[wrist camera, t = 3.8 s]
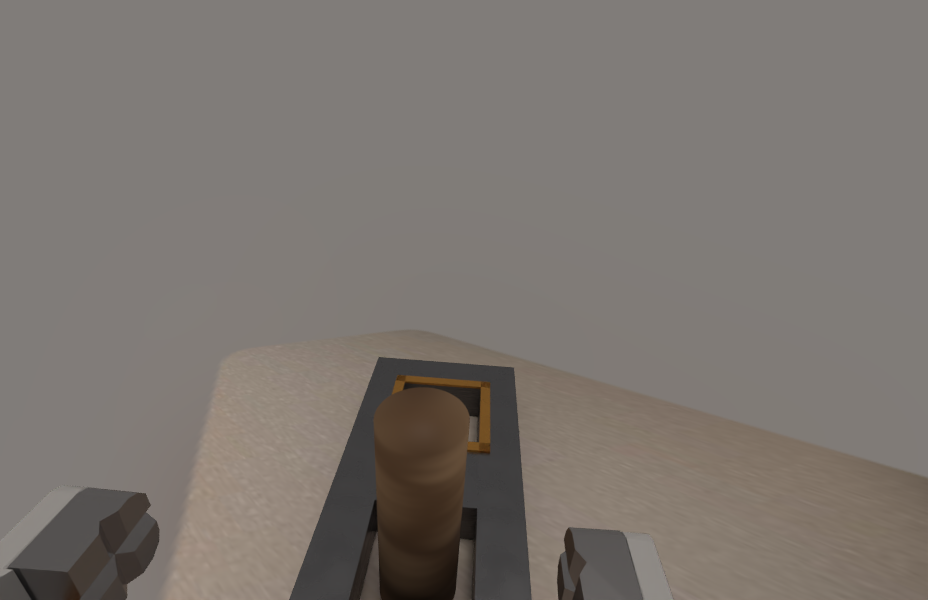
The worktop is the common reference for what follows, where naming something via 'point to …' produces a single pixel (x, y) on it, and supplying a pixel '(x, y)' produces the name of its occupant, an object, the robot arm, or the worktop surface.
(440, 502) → the peg
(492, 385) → the grey slotted board
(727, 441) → the worktop surface
